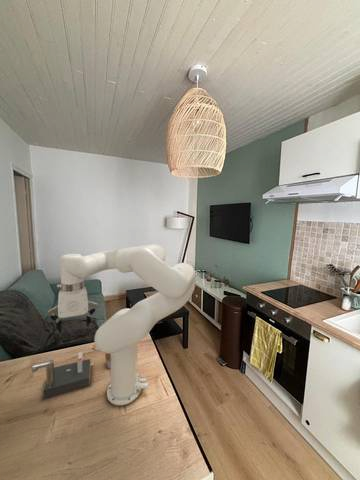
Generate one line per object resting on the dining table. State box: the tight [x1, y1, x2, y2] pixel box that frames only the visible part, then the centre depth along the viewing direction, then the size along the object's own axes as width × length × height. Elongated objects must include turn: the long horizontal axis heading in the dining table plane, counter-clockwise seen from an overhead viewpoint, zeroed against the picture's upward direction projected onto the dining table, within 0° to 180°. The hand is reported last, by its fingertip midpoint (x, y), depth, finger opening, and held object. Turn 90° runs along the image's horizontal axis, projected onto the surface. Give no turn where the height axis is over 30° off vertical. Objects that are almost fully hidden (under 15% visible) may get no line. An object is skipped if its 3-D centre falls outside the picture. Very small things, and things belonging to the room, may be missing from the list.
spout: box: [31, 359, 55, 387], centre depth 71 cm, size 7×2×9 cm, turn 113°
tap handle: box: [76, 350, 84, 373], centre depth 80 cm, size 6×2×5 cm, turn 23°
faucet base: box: [42, 358, 94, 400], centre depth 78 cm, size 17×11×4 cm, turn 113°
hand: (74, 327), depth 77 cm, fingers open, 9 cm apart
